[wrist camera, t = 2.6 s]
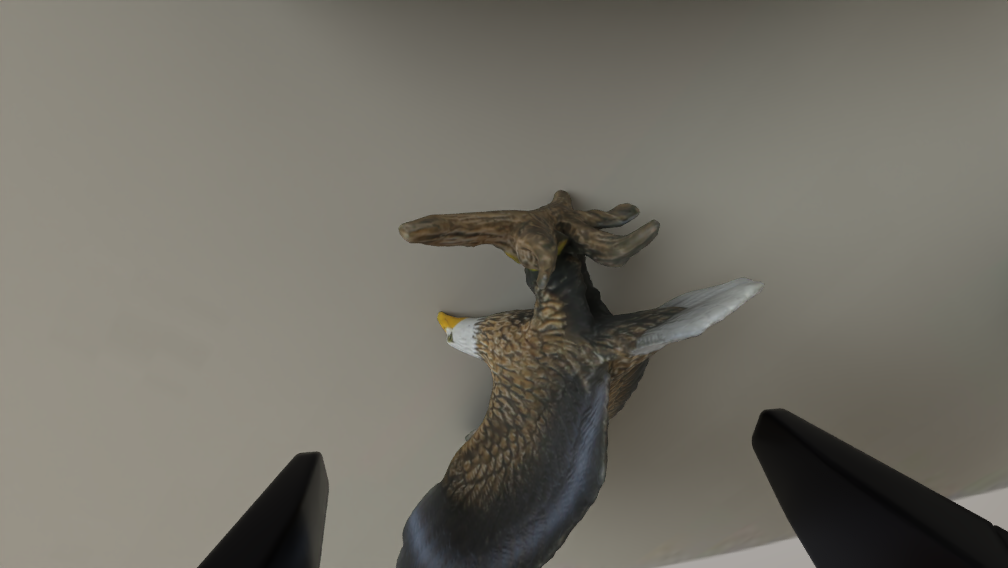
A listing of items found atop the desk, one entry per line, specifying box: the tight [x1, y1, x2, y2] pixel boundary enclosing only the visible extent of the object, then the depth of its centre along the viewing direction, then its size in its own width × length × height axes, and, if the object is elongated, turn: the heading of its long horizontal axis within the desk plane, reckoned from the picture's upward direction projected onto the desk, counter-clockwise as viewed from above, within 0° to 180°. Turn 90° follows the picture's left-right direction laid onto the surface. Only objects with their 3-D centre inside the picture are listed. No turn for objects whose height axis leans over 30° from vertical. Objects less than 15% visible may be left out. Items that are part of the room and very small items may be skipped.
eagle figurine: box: [396, 190, 765, 568], centre depth 11 cm, size 8×7×9 cm
